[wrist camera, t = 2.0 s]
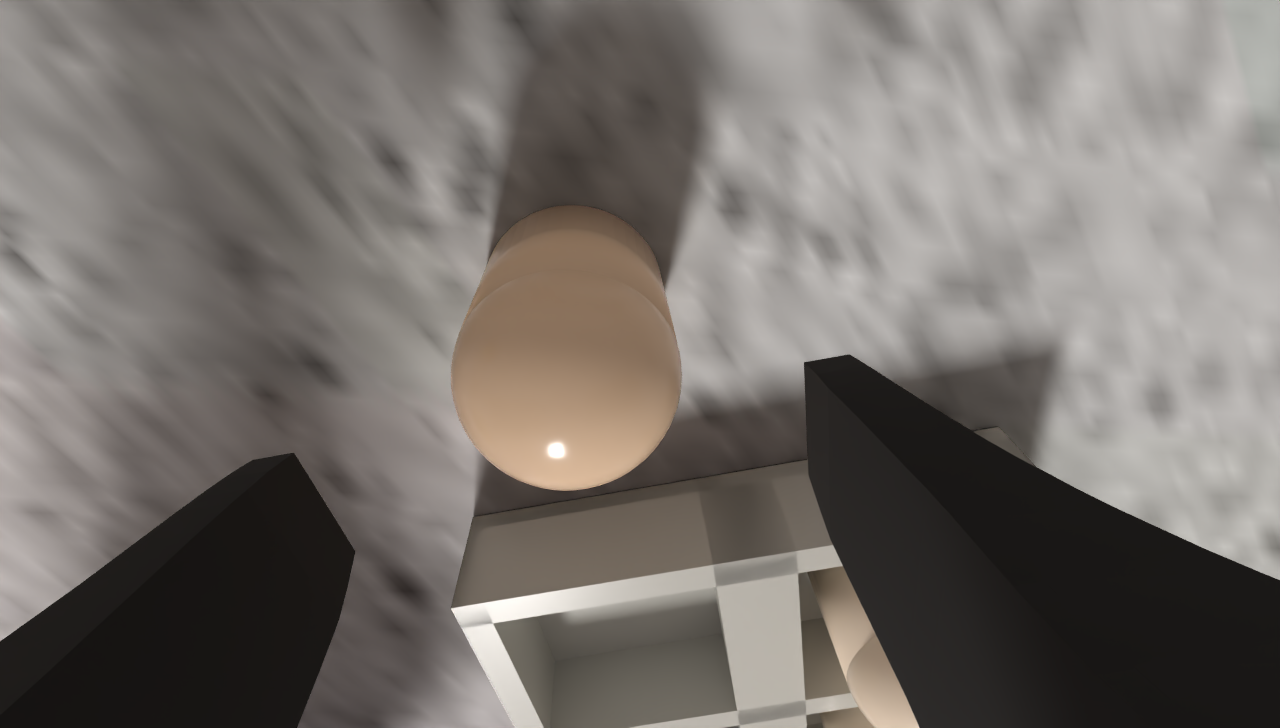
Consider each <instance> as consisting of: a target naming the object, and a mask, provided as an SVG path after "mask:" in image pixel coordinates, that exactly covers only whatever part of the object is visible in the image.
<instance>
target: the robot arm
mask: <svg viewBox="0 0 1280 728" xmlns="http://www.w3.org/2000/svg"><path fill="white" fill-rule="evenodd" d="M804 373H805V400H806V426H807V452H808V475H809V478H810V481H811V484H812V487H813V490H814V493H815V496H816V499H817V502H818V505H819V508H820V511H821V514H822V517H823V520H824V523H825V526H826V529H827V531H828V534H829V537H830V540H831V542H832V544H833V546H834V548H835V550H836V553H837V555H838V557H839V559H840V561H841V563H842V565H843V567H844V569H845V571H846V574H847V576H848V578H849V580H850V582H851V584H852V586H853V588H854V590H855V592H856V594H857V597H858V599H859V601H860V603H861V605H862V607H863V609H864V611H865V613H866V615H867V617H868V619H869V621H870V623H871V625H872V628H873V630H874V632H875V634H876V636H877V638H878V640H879V642H880V644H881V646H882V648H883V650H884V652H885V654H886V656H887V659H888V661H889V663H890V665H891V667H892V669H893V671H894V673H895V675H896V677H897V679H898V681H899V683H900V685H901V688H902V690H903V692H904V694H905V696H906V698H907V700H908V703H909V705H910V707H911V709H912V712H913V714H914V716H915V719H916V721H917V723H918V725H919V728H1280V580H1278V579H1275V578H1273V577H1270V576H1268V575H1265V574H1263V573H1260V572H1258V571H1256V570H1253V569H1251V568H1249V567H1246V566H1244V565H1241V564H1239V563H1237V562H1234V561H1232V560H1230V559H1227V558H1225V557H1223V556H1220V555H1218V554H1216V553H1213V552H1211V551H1209V550H1206V549H1204V548H1202V547H1199V546H1197V545H1195V544H1193V543H1191V542H1188V541H1186V540H1184V539H1182V538H1180V537H1178V536H1175V535H1173V534H1171V533H1169V532H1167V531H1165V530H1162V529H1160V528H1158V527H1156V526H1154V525H1151V524H1149V523H1147V522H1145V521H1143V520H1141V519H1138V518H1136V517H1134V516H1132V515H1130V514H1127V513H1125V512H1123V511H1121V510H1119V509H1117V508H1115V507H1113V506H1111V505H1109V504H1106V503H1104V502H1102V501H1100V500H1098V499H1096V498H1094V497H1092V496H1090V495H1088V494H1086V493H1084V492H1082V491H1080V490H1078V489H1076V488H1074V487H1073V486H1071V485H1069V484H1067V483H1065V482H1063V481H1061V480H1059V479H1058V478H1056V477H1054V476H1052V475H1050V474H1048V473H1046V472H1044V471H1043V470H1041V469H1039V468H1037V467H1035V466H1033V465H1031V464H1029V463H1027V462H1026V461H1024V460H1022V459H1020V458H1018V457H1016V456H1015V455H1013V454H1011V453H1009V452H1007V451H1006V450H1004V449H1002V448H1000V447H999V446H997V445H995V444H993V443H992V442H990V441H988V440H986V439H985V438H983V437H981V436H980V435H978V434H976V433H974V432H973V431H971V430H969V429H968V428H966V427H964V426H963V425H961V424H959V423H958V422H956V421H954V420H953V419H951V418H949V417H948V416H946V415H945V414H943V413H941V412H940V411H938V410H936V409H935V408H933V407H932V406H930V405H928V404H927V403H925V402H924V401H922V400H920V399H919V398H917V397H916V396H914V395H913V394H911V393H909V392H908V391H906V390H905V389H903V388H902V387H900V386H898V385H897V384H895V383H894V382H892V381H891V380H889V379H888V378H886V377H885V376H883V375H881V374H880V373H878V372H877V371H875V370H874V369H872V368H871V367H869V366H867V365H866V364H864V363H863V362H861V361H859V360H858V359H856V358H854V357H853V356H851V355H843V356H838V357H832V358H826V359H821V360H815V361H810V362H804ZM354 555H355V550H354V549H353V547H352V545H351V544H350V542H349V541H348V539H347V537H346V536H345V534H344V533H343V531H342V529H341V528H340V526H339V525H338V523H337V521H336V520H335V518H334V516H333V515H332V513H331V512H330V510H329V508H328V507H327V505H326V504H325V502H324V500H323V499H322V497H321V496H320V494H319V492H318V491H317V489H316V488H315V486H314V484H313V483H312V481H311V479H310V478H309V476H308V475H307V473H306V471H305V470H304V468H303V467H302V465H301V463H300V462H299V460H298V459H297V457H296V455H295V454H294V453H290V454H284V455H279V456H273V457H268V458H262V459H256V460H252V461H251V462H249V463H247V464H246V465H244V466H242V467H241V468H239V469H237V470H236V471H234V472H233V473H231V474H230V475H228V476H227V477H225V478H224V479H222V480H221V481H219V482H218V483H216V484H215V485H213V486H212V487H211V488H209V489H208V490H206V491H205V492H204V493H202V494H201V495H199V496H198V497H197V498H195V499H194V500H192V501H191V502H190V503H188V504H187V505H186V506H184V507H183V508H182V509H180V510H179V511H177V512H176V513H175V514H173V515H172V516H171V517H169V518H168V519H167V520H165V521H164V522H163V523H161V524H160V525H159V526H157V527H156V528H155V529H153V530H152V531H151V532H149V533H148V534H147V535H145V536H144V537H143V538H141V539H140V540H139V541H137V542H136V543H135V544H133V545H132V546H131V547H129V548H128V549H127V550H125V551H124V552H123V553H121V554H120V555H119V556H117V557H116V558H115V559H113V560H112V561H111V562H109V563H108V564H107V565H105V566H104V567H103V568H101V569H100V570H99V571H97V572H96V573H95V574H93V575H92V576H91V577H89V578H88V579H86V580H85V581H84V582H82V583H81V584H80V585H78V586H77V587H76V588H74V589H73V590H71V591H70V592H69V593H67V594H66V595H64V596H63V597H62V598H60V599H59V600H57V601H56V602H55V603H53V604H52V605H50V606H49V607H48V608H46V609H45V610H44V611H42V612H41V613H39V614H38V615H37V616H35V617H34V618H32V619H31V620H30V621H28V622H27V623H25V624H24V625H23V626H21V627H20V628H18V629H17V630H16V631H14V632H13V633H11V634H10V635H9V636H7V637H6V638H4V639H3V640H2V641H0V728H297V726H298V724H299V721H300V719H301V716H302V714H303V711H304V709H305V706H306V704H307V701H308V699H309V696H310V694H311V691H312V689H313V686H314V684H315V681H316V679H317V676H318V673H319V671H320V668H321V666H322V663H323V660H324V658H325V655H326V653H327V650H328V647H329V645H330V642H331V640H332V637H333V634H334V632H335V629H336V626H337V623H338V621H339V617H340V614H341V610H342V606H343V602H344V598H345V595H346V591H347V587H348V582H349V578H350V573H351V569H352V564H353V559H354Z"/></svg>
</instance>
